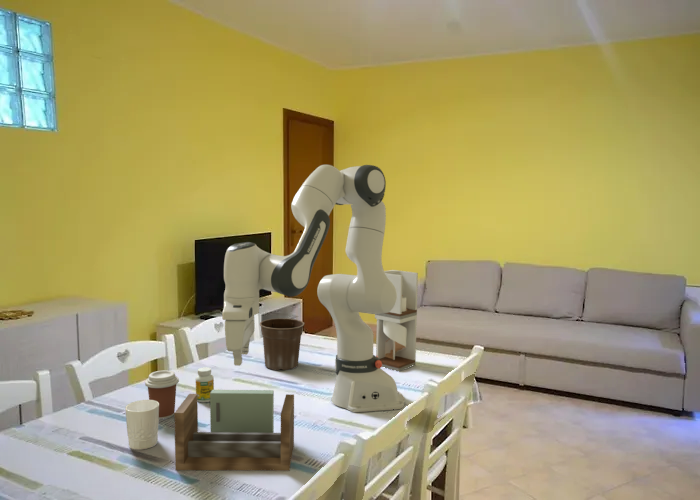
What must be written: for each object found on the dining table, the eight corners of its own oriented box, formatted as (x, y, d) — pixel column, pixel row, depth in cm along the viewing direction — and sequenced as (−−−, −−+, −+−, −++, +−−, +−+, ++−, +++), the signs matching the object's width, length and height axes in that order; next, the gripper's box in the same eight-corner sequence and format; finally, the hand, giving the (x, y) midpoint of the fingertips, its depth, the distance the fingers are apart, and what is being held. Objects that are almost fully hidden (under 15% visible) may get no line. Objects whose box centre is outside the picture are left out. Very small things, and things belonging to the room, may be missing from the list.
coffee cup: (141, 413, 156) (140, 372, 154) (173, 406, 161) (172, 367, 160) (151, 424, 148) (150, 381, 147) (184, 416, 154) (183, 375, 152)
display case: (374, 364, 203) (375, 272, 200) (391, 358, 211) (393, 269, 208) (398, 371, 196) (401, 275, 192) (415, 365, 204) (417, 272, 200)
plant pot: (312, 363, 204) (313, 321, 202) (286, 375, 190) (286, 330, 188) (278, 356, 212) (278, 316, 210) (250, 367, 198) (250, 324, 197)
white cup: (132, 437, 140) (131, 399, 139) (163, 436, 141) (162, 399, 140) (122, 451, 132) (120, 412, 131) (155, 450, 133) (154, 411, 132)
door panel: (273, 434, 143) (273, 390, 142) (272, 438, 141) (272, 394, 139) (212, 433, 143) (212, 389, 142) (210, 438, 140) (209, 393, 139)
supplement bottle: (210, 395, 170) (210, 365, 169) (216, 400, 166) (216, 370, 165) (193, 398, 167) (193, 368, 166) (199, 404, 163) (198, 373, 162)
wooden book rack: (293, 446, 136) (294, 394, 135) (289, 470, 124) (289, 413, 123) (190, 445, 136) (189, 393, 135) (175, 469, 124) (174, 412, 123)
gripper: (237, 298, 149) (237, 347, 150) (220, 314, 129) (220, 371, 130) (260, 299, 149) (259, 348, 150) (247, 314, 129) (247, 371, 130)
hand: (241, 359), depth 140 cm, fingers open, 8 cm apart
